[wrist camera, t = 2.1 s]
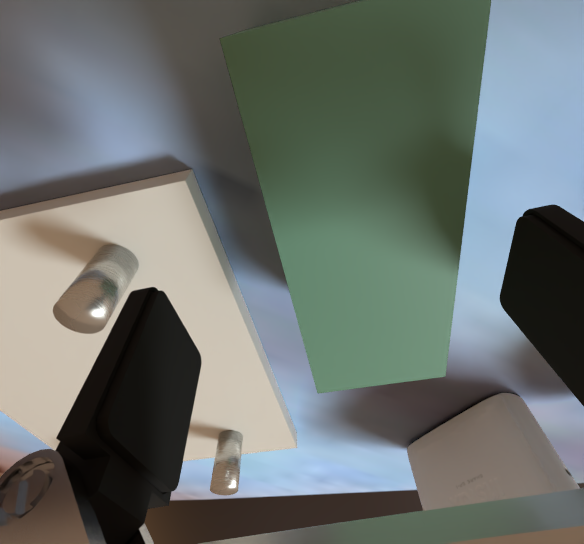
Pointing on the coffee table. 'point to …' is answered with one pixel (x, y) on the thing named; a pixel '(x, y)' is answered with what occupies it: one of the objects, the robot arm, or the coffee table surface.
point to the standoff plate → (110, 300)
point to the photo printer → (487, 457)
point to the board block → (366, 174)
